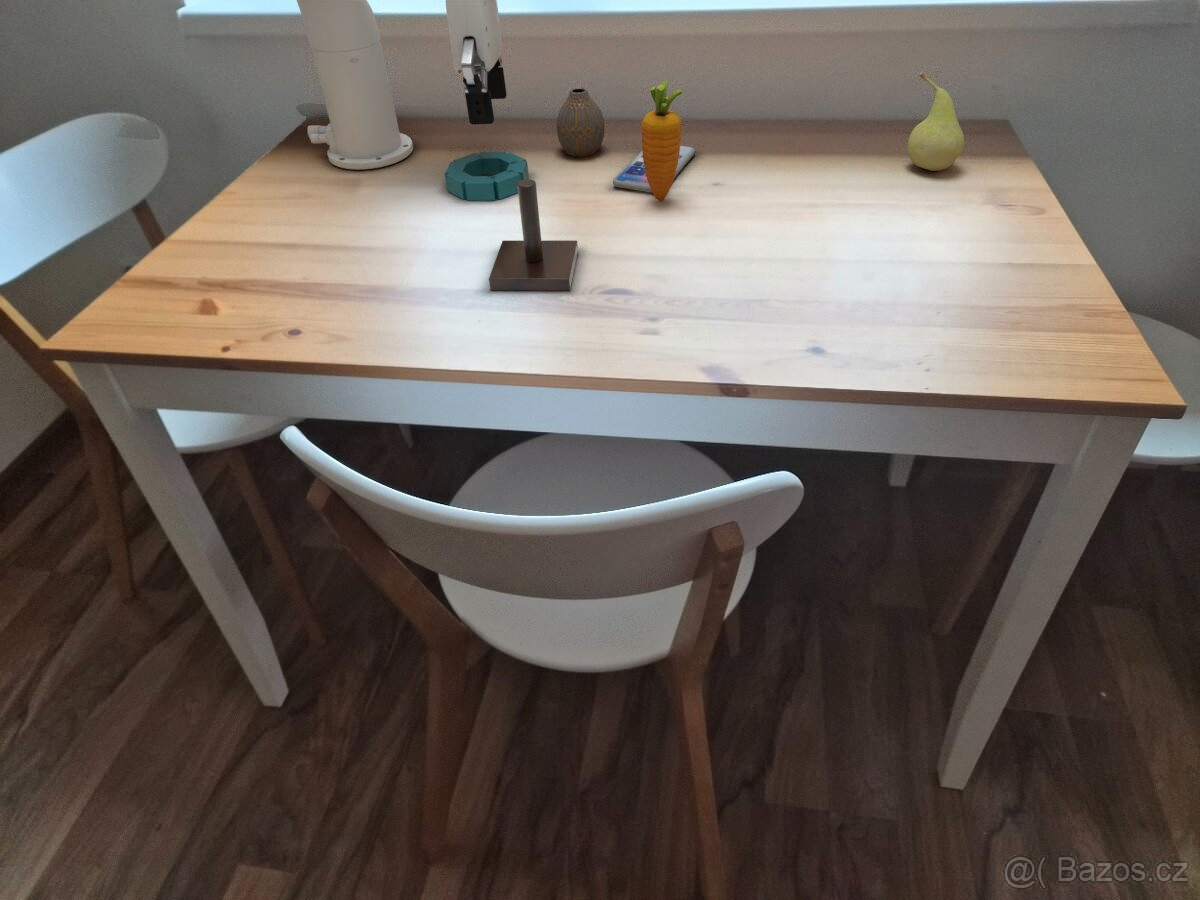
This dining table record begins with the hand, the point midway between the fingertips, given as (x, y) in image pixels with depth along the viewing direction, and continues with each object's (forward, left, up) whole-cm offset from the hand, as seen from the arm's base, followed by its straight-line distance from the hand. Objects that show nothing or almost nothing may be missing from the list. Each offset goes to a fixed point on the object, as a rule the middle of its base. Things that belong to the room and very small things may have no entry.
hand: (489, 110), depth 109 cm
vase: (+11, +7, -9) cm, 16 cm away
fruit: (+59, 0, -9) cm, 60 cm away
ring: (-1, -4, -9) cm, 10 cm away
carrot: (+23, -10, -9) cm, 27 cm away
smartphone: (+22, 0, -9) cm, 24 cm away
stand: (+9, -28, -9) cm, 31 cm away
